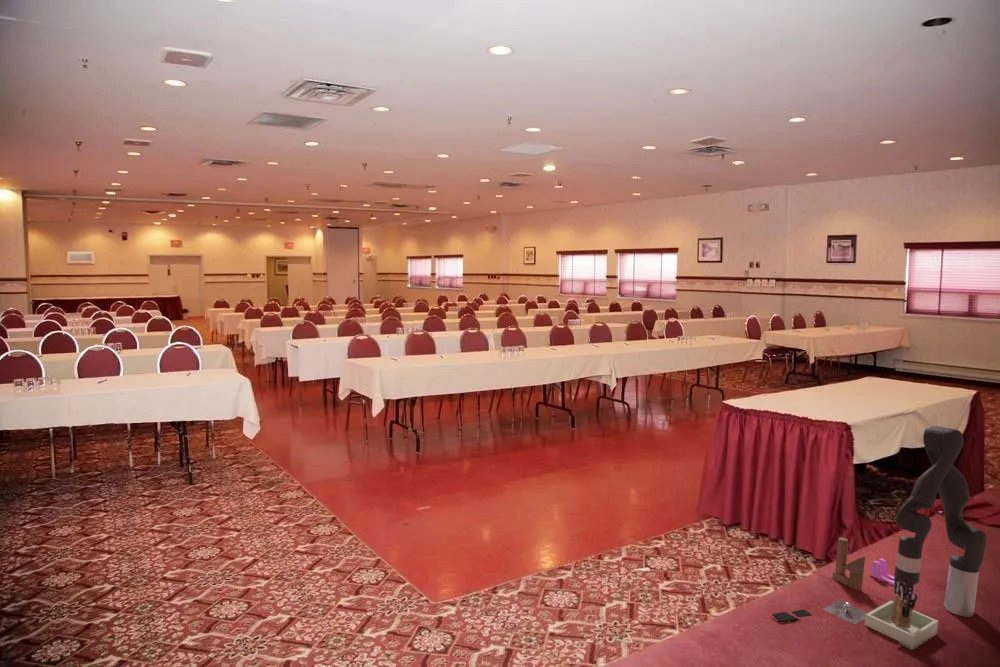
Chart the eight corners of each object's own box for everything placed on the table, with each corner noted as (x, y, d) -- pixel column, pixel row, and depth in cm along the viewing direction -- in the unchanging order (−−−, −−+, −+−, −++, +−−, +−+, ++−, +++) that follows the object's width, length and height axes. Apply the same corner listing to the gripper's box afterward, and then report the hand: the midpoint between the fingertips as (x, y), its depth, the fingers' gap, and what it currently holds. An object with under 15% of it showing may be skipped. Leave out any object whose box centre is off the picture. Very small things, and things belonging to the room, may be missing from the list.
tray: (889, 613, 252) (891, 600, 251) (936, 634, 239) (938, 621, 238) (864, 627, 242) (865, 614, 241) (912, 650, 229) (913, 636, 228)
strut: (891, 619, 243) (895, 593, 241) (904, 621, 242) (908, 595, 241) (896, 626, 238) (900, 599, 237) (909, 628, 238) (913, 601, 236)
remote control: (779, 625, 243) (814, 619, 247) (779, 621, 242) (814, 614, 247) (770, 618, 247) (804, 612, 252) (770, 614, 247) (805, 607, 251)
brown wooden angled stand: (855, 592, 267) (860, 548, 264) (831, 580, 276) (836, 537, 274) (861, 590, 268) (866, 547, 266) (837, 578, 278) (842, 536, 276)
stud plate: (839, 602, 258) (840, 591, 258) (871, 617, 249) (873, 605, 248) (822, 611, 252) (823, 599, 251) (854, 627, 242) (855, 614, 241)
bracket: (869, 576, 281) (871, 560, 280) (877, 573, 284) (878, 557, 283) (902, 590, 270) (904, 573, 269) (909, 586, 273) (911, 570, 272)
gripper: (928, 577, 230) (922, 625, 232) (911, 558, 244) (905, 603, 246) (904, 575, 231) (898, 622, 233) (888, 556, 245) (883, 601, 247)
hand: (902, 612), depth 240 cm, fingers closed on strut, 4 cm apart
